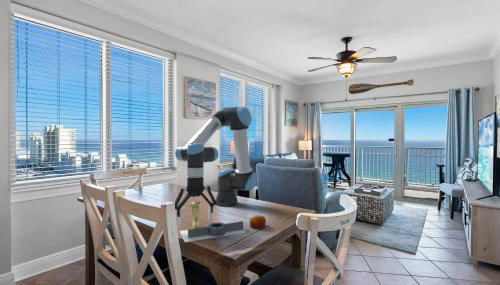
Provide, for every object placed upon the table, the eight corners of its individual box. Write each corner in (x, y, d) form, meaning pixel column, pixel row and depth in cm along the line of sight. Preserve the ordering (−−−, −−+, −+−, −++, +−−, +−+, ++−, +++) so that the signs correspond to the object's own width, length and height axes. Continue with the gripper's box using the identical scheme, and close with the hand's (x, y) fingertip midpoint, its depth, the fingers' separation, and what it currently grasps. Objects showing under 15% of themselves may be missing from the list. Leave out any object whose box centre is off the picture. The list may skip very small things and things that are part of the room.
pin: (189, 229, 121) (189, 202, 121) (198, 227, 123) (198, 201, 123) (191, 232, 117) (191, 204, 117) (201, 231, 119) (200, 203, 119)
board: (179, 233, 119) (179, 230, 119) (235, 225, 131) (235, 222, 130) (184, 245, 106) (184, 242, 106) (246, 234, 118) (246, 232, 118)
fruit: (255, 231, 118) (251, 214, 122) (249, 235, 124) (246, 218, 128) (270, 228, 121) (266, 212, 125) (264, 232, 128) (260, 216, 131)
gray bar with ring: (186, 234, 115) (186, 226, 115) (239, 226, 125) (239, 219, 125) (189, 240, 107) (189, 232, 107) (246, 231, 118) (246, 224, 118)
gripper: (168, 179, 111) (168, 227, 111) (223, 176, 121) (223, 220, 122) (166, 176, 118) (166, 222, 118) (218, 174, 128) (218, 216, 128)
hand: (195, 221), depth 120 cm, fingers open, 13 cm apart
